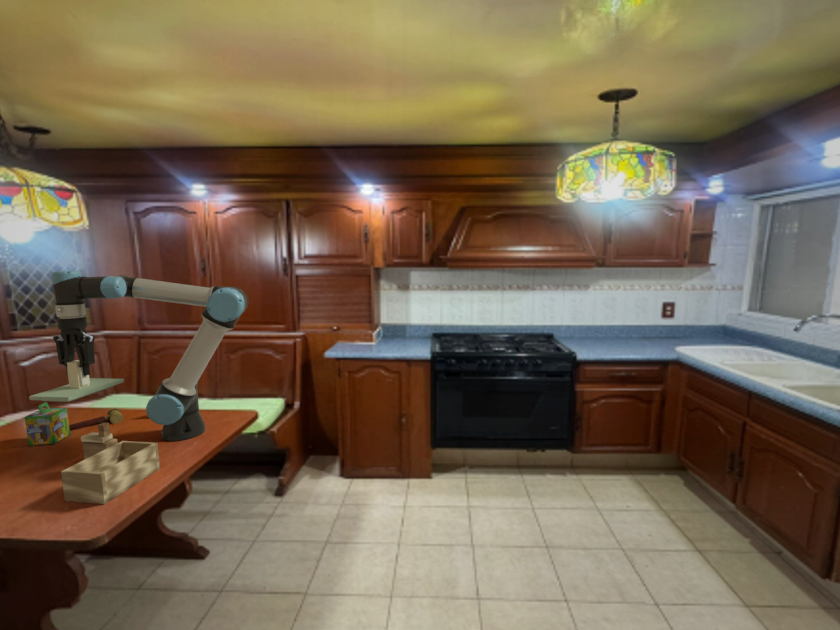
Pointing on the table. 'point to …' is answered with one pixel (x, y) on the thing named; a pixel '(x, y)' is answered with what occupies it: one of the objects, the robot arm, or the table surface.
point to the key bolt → (98, 434)
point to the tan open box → (109, 470)
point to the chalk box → (47, 425)
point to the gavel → (100, 419)
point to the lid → (76, 386)
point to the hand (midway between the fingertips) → (79, 384)
